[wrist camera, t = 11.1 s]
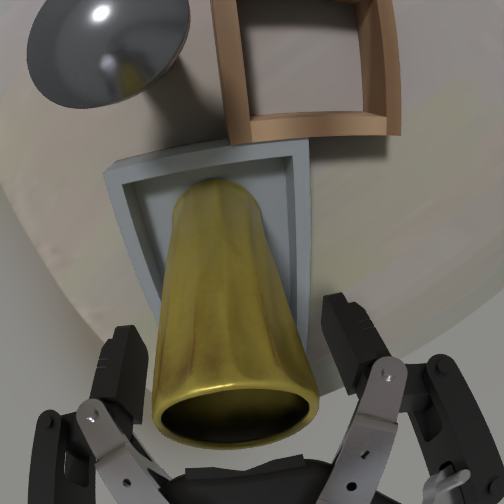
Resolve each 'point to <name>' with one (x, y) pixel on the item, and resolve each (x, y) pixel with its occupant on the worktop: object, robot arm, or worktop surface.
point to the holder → (315, 123)
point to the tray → (228, 168)
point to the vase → (227, 330)
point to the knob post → (104, 48)
